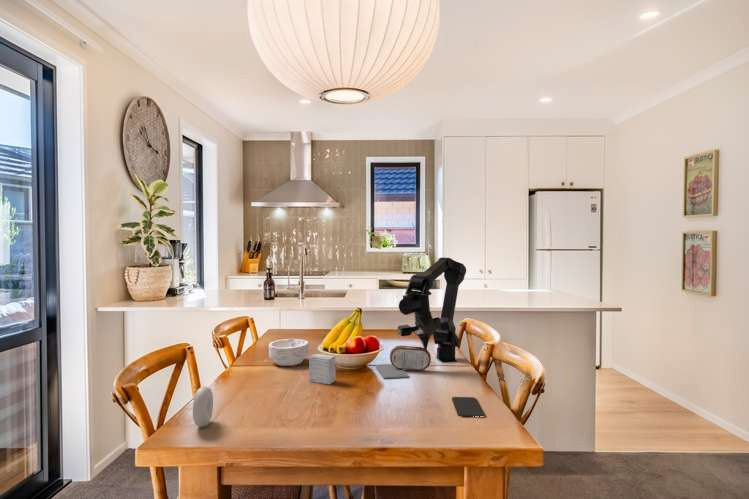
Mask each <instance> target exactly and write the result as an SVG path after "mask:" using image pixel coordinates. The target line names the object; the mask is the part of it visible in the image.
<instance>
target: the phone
mask: <svg viewBox="0 0 749 499" xmlns="http://www.w3.org/2000/svg"><path fill="white" fill-rule="evenodd" d="M451 401H452V403H453V406H454V409H455V411H457V412H456V414H457V416H458V417H459V416H462V417H461V418H470V417H473V416H474V417H475V416H479V417H480V416H485V414H486V413H485V412H484V410H483V409H482V407H481V405H480V403H479V401H478V400H477V398H476V397H473V396H453V397H451Z"/></svg>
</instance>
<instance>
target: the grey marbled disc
mask: <svg viewBox="0 0 749 499" xmlns="http://www.w3.org/2000/svg"><path fill="white" fill-rule="evenodd" d="M196 390H197V391H196V392H195V395H194V398H193V401H192V418H193V422H194V424H195V426H197V427H199V428H204V427H206V426H207V425H208V424H209V423H210V422H211V419H212V416H213V411H214V395H213V391H212V389H211V388H210V387H209V386H205V385H204V386H201V387H200V388H198V389H196Z"/></svg>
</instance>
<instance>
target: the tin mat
mask: <svg viewBox="0 0 749 499" xmlns="http://www.w3.org/2000/svg"><path fill="white" fill-rule="evenodd" d="M374 367H375V369H376V370H377V372H378V373H379V374H380V377H382V378H383V380H391V379H409V378H410V375H408V373H407V372H406V370H405V369H397V368H395V367H394V366H393V365H392V363H385V364H383V363H380V364H374Z"/></svg>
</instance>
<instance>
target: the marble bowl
mask: <svg viewBox="0 0 749 499" xmlns="http://www.w3.org/2000/svg"><path fill="white" fill-rule="evenodd" d="M309 350H310V349H309V341H307V340H305V339H300V338H286V339H285V338H284V339H277V340H274V341H272V342H270V343H269V344H268V357H269V358H270V359H272V360H273V361H274V363H275V364H276V365H277V366H283V367H291V366H292V367H293V366H296V365H297V366H298V365H300V364H301V363H302V362H303V361H304V359H305V358H306V357H308V356H309V352H310V351H309Z"/></svg>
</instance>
